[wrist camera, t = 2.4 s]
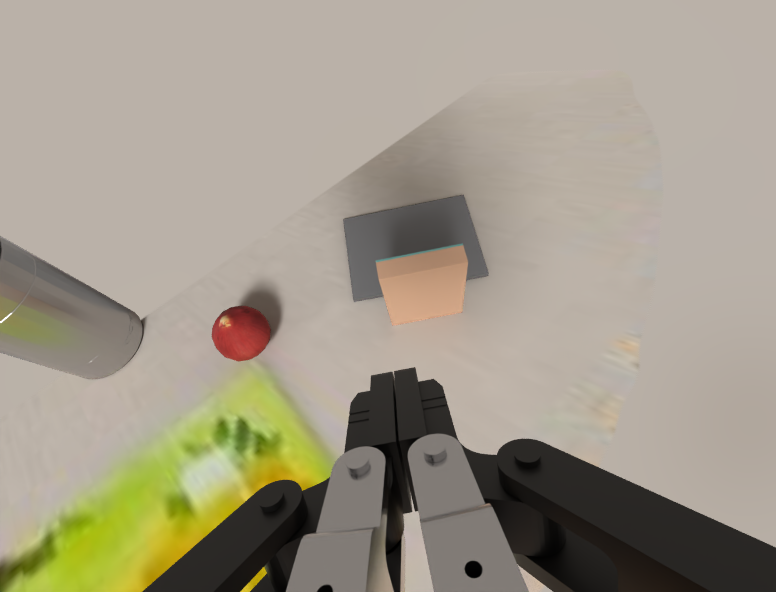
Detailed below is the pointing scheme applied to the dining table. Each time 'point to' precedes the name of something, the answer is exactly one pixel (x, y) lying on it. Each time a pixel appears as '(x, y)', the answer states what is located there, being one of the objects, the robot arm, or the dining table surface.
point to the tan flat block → (424, 283)
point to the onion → (241, 333)
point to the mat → (408, 239)
